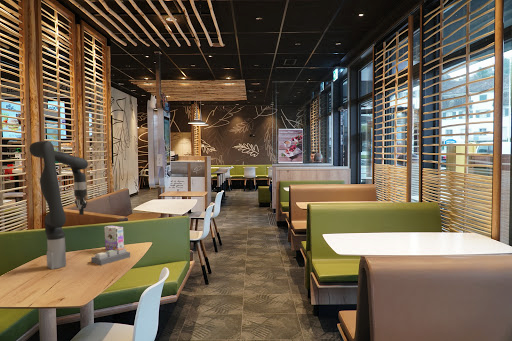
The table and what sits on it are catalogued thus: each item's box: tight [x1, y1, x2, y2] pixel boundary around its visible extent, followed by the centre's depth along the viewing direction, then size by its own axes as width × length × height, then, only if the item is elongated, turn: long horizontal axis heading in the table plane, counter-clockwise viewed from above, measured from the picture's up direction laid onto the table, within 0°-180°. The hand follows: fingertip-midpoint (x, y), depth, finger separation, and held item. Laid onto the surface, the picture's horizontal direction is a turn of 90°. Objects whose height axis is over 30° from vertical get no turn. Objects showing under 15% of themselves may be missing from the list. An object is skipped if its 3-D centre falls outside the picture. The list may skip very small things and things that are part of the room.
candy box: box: [103, 225, 125, 251], centre depth 246 cm, size 14×6×16 cm, turn 58°
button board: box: [91, 248, 131, 266], centre depth 224 cm, size 20×11×5 cm, turn 143°
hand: (81, 214), depth 236 cm, fingers closed
